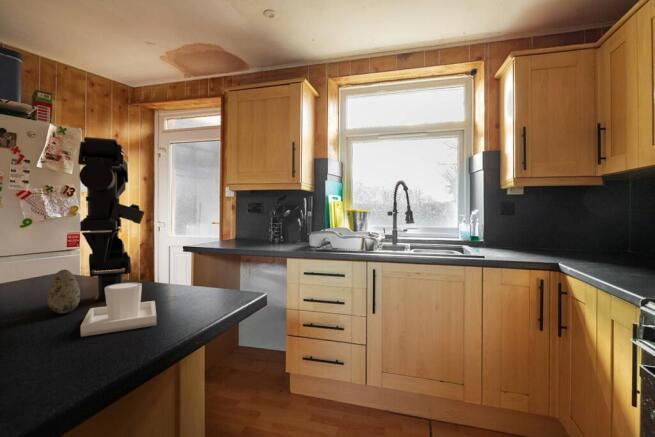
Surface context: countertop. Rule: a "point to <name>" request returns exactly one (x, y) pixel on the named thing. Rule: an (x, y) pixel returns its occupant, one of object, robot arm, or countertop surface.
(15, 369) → the countertop surface
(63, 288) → the decorative egg
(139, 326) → the tray
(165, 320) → the countertop surface
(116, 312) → the white cup
